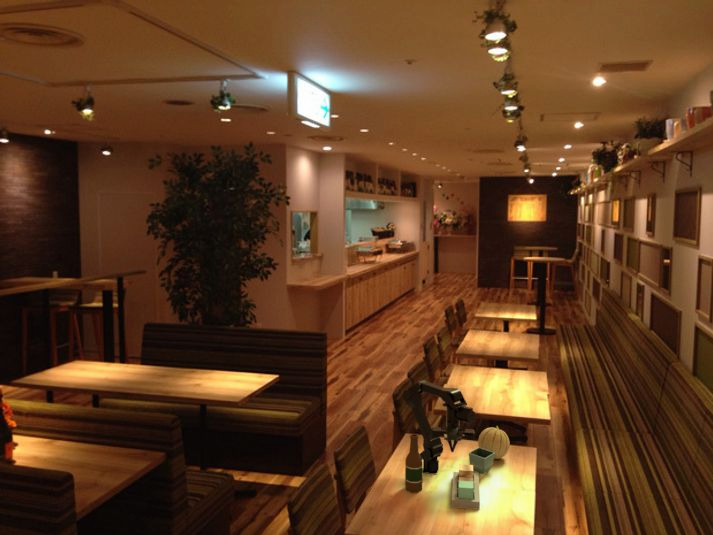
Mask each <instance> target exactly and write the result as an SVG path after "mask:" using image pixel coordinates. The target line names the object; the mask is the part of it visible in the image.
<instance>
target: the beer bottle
mask: <svg viewBox="0 0 713 535" xmlns="http://www.w3.org/2000/svg"><path fill="white" fill-rule="evenodd" d="M409 439H410V443H409V450H408V451H409V452H408V453H407V455H406V457H405V463H404V465H405V466H404V468H405V469H404V470H405V474H404V475H405V477H404V478H405V479H404V480H405V481H404V484H405V485H404V487H405V491H407V492H409V493H411V494H413V493H414V494H418V493H420V492H422V490H423V474H424V473H423V459H422V458H421V455H420V452H419V440H418V439H419V435H418V434H416V433H414V434H413V433H412V434H410V435H409Z"/></svg>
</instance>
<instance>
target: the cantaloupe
mask: <svg viewBox="0 0 713 535" xmlns="http://www.w3.org/2000/svg"><path fill="white" fill-rule="evenodd" d="M477 444H478V448H482V449H485V450H488V451H491V452H494V453H495V455H494V460H500V459H502V458H503V457H505V456H506V455H507V454H508V452H509V449H510V446H511V445H510V444H511V443H510V439H509V436H508V435H507V433H506V432H505V431H504V430H502V429H500V428H499V426H498V425H496V427H493V426H492V427H487V428H485V429H483V430H482V431H481V433H480V434H479V436H478V440H477Z"/></svg>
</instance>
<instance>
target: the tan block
mask: <svg viewBox="0 0 713 535" xmlns="http://www.w3.org/2000/svg"><path fill="white" fill-rule="evenodd" d="M458 481H471V482H474V481H473V478H466V477H459V480H458Z"/></svg>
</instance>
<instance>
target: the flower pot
mask: <svg viewBox="0 0 713 535" xmlns="http://www.w3.org/2000/svg"><path fill="white" fill-rule="evenodd" d="M494 455H495V453H494V452H491V451H488V450H485V449H482V448H479V447H476V448H475V449H473V450H471V451H470V452H468V459H469V460H468V461H469V465H473V472H474V473H477V474H479V475H480V474H481V475H484V474H487V473H488V472H490V470H491V468H492V467H493V464H494V460H495V459H494Z"/></svg>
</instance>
